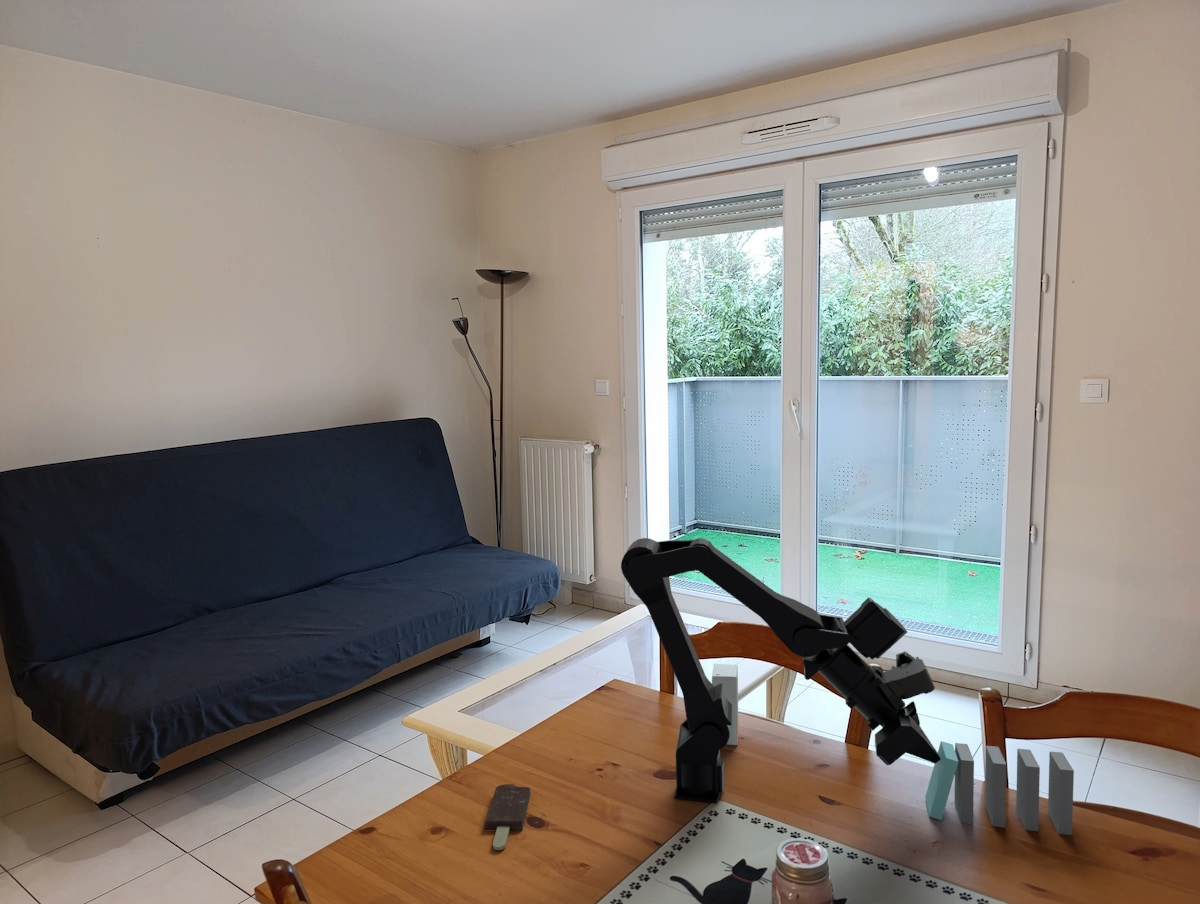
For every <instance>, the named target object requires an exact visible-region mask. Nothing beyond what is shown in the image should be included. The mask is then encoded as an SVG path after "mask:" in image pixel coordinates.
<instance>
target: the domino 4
mask: <svg viewBox="0 0 1200 904" xmlns="http://www.w3.org/2000/svg"><path fill="white" fill-rule="evenodd" d="M1048 755H1049V757H1048V759H1049V761H1048V764H1049V765H1048V793H1047V795H1048V797H1047V798H1048V800H1049V801H1047V814H1048V817H1049V818H1050V820H1051V822H1052V824H1053V826H1054V828H1055V830H1056V832H1057V834H1058V835H1066V836H1073V816H1074V815H1073V814H1074V813H1073V812H1074V810H1073V809H1074V779H1075V778H1074V777H1075V776H1074V775H1075V774H1074V773H1075V769H1074V768H1073V767H1072V765H1071V764H1070V762H1069V761H1068V759H1067V757H1066V755H1065V754H1064V753H1063V752H1062V751H1060V752H1059V751H1049V754H1048Z"/></svg>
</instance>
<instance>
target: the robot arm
mask: <svg viewBox="0 0 1200 904" xmlns="http://www.w3.org/2000/svg"><path fill="white" fill-rule="evenodd" d="M620 569H621V574H622V575H623V577H624V579H625V580H626V582H627V583H628V585H629V587H630V588H631V590H632V591H633V593H634V594H635V595H636V597H637V598H639V600H640V601H641V602H642V603H643V604H644V606H645V607H646V609H647V610H648V613H649V614H650V618H651V620H652V623H653V625H654V627H655V630H656V632H657V634H658V637H659V639H660V642H661V644H662V646H663V649H664V651H665V652H664V653H666V654H665V655H666V656H667V658H668V661H669V664H670V666H671V669H672V670H673V673H674V676H675V678H676V680H677V683H678V685H679V688H680V690H681V692H682V697H683V698H682V699H683V703H684V710H685V711H684V712H685V718H686V719H684V721H683V722H682V723H681V724H680V725H679V730H678V738H677V743H676V749H675V776H676V777H675V779H676V780H675V781H676V785H675V790H674V792H673V797H674V799H679V800H680V799H682V800H689V801H697V802H705V803H714V804H715V803H718V802H719V798H720V794H722V793H723V791H724V787H725V761H724V760H725V759H723V758H721V750H722V749H723V748H724V747H725V746H727V745H726V744H727V742H728V740H729V737H730V725H732V704H731V703H730V702H729V701H728V699H727V698H726V695H725V691H724V687H723V684H722V683H720V684H719V685H717V686H715V687H714V686H713V685H712V681H710V680H709V678H708V677H707V676H706V673H705V671H704V668H703V666H702V664H701V661H700V659H699V656H698V654H697V651H696V648H695V646H694V643H693V642H692V639H691V638H690V635H689V632H688V629H687V627H686V625H685V623H684V620H683V618H682V615H681V613H680V611H679V608H678V606H677V603H676V600H675V599H674V596H673V594H672V588H671V582H670V577H672V576H677V575H681V574H685V573H689V572H695V571H698V572H700V573H701V574H702V575H703V576H705V577H706V578H708V579H709V580H710V581H712V582H713V583H714V584H715V585H717V586H718V587H720V588H721V589H722V590H723V591H725V592H726V593H727V594H729V595H731V596H732V597H733V598H734V599H736V600H737V601H738V602H740V603H741V604H743V605H744V606H745V607H746V608H747V609H749V610H751V611H752V612H753V613H755V614H756V615H758V616H759V617H760V618H761V620H763V622H765V623H766V624H767V626H768V627H769V628H770V630H771V631H772V632H773V633H774V635H775V636H776V637H777V638H778V639H779V641H781V642H782V644H784V646H786V648H788V650H789V651H790V652H791V653H793V654H794V655H795V656H798V657H800V658H802V664H803V666H804V667H803V673H804V679H805V680H806V681H809V680H811V679H812V678H813V677H814V676H815V675H816V674H817V673H819V674H820V675H821V676H822V677H823V678H824V679H825V680H826V681H827V682H828V683H829V684H830V685H831V686H833V688H834V689H835V690H836V691H837V692H839V694H840V695H841V696H843V697H844V698H845V699H844V700H845V705H846V706H847V707H848V708H849V709H850V710H852V709H853V708H855V709H856V710H857V711H858V712H859V713H860V714H861V715H862V716H863V717H864V718H865V719H866V724H867V726H868V728H869V729H871V730H872V731H874V730H875V729H878V727H879V726H880V727H881V729H879V730H878V731H877V732H876V733H875V734H874V747H875V748H874V749H875V755H876V756H877V757H878V758H879V759H880V761H882V762H883V763H884V764H885V765H886V766H891V765H892V764H893V763H895V762H896V761H898V759H900V758H901V757H902V756H903V755H905V754H909V755H912V756H914V757H916V758H920V759H922V760H924V761H928V762H930V763H933V764H935V763H937V762H938V761H940V756H939V754H938V750H936V747H934V745H933V744H932V742H931V740H930V739H929V737H928V736H927V735H926V733H925V732H924V730H923V729H922V727H921V721H920V717H919V715H918V713H917V711H918V710H917V707H916V706H917V705H916V703H915V701H911V702H909V703H908V704H907V705H906V702H905V701H904V700H909V699H912V698H914V697H916V696H920V695H923V694H929V693H932V692H933V691H935V689H936V687H935V684H934V682H933V679H932V676H931V675H930V673H929V671H928V669H927V667H926V664H925V663H924V660H923V659H921V658H920V657H918V656H916V657H914V656H913V655H911V654H910V653H908V652H907V651H902V652H900V653H897V654H896V655H895V665H893V666H892V665H891V669H888V670H887V671H883V670H882V669H881V668H880V667H879V666H875V665H872V666H870V665H869V664H868V663H867V662H866V661H865V660H864V659H863V658H862V657H861V656H863V657H864V658H866V659H868V658H869V659H871V661H872V660H874V659H875V658H876V659H879V658H881V657H882V656H883V655H884V654H885V653H887V651H888V650H889V649H891V648H892V647H893V646H894V645H896V644H897V643H898V641H899V640H901V639H902V638H903V637H904V636H905V635H906V634H908V630H907V629H906V628H905V626H904V625H903V624H902V623H901V622H900V621H899V620H898V619H897V618H896V617H895V616H894V615H893V614H892V613H891V612H890V611H889V610H888V609H887V608H886V607H883V606H882V605H881V604H879V603H877V602H876V601H875V600H874V599H872V597H867V598H866V599H865V600H864V601H863V602H862V603H861V604H860V607H859V608H857V609H856V610H855V611H854V612H853V613H852V614H851V615H850V616H849V617H848V618H847V619H846V620H844V619H843V617H842V616H835V615H827V614H823V613H821V614H820V613H819V612H817V611H816V609H814V608H812V607H810V606H809V605H806V604H804V603H802V602H800V601H798V600H796V599H794V598H791V597H788V596H786V595H782V594H780V593H779V592H776V591H774V590H773V589H772V588H770V587H769V586H768V585H766V584H765V582H762V580H760V579H758V578H757V577H756V576H754V575H753V574H752V573H750V572H749V571H747V570H746V569H745V568H744V567H742V566H741V565H739V564H738V563H737V562H735V561H734V560H732V559H731V558H730V557H728V556H727V555H726V554H725V553H723V552H722V551H720V550H719V549H718V548H717V547H715V546H714V544H713V543H712V542H711V541H710V540H708V539H706V538H700V537H699V538H695V539H687V540H686V539H685V540H682V539H681V540H676V539H675V540H670V539H669V540H662V541H661V540H660V541H657V540H653V539H652V538H647V537H646V538H645V537H642V538H638V539H636V540H635V541H633V542H632V543H631V544H630V545H629V547H628V548H627V550H626V551H625V553H624V555H623V556H622V560H621V562H620ZM849 643H850V645H851V646H852V647H853V648H854V649H855V650H856V651H857V652H858V653H856V651H855V650H854V649H853V648H852V647H851V646H849ZM859 654H860V655H861V656H860V655H859Z"/></svg>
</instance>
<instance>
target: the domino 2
mask: <svg viewBox="0 0 1200 904" xmlns="http://www.w3.org/2000/svg"><path fill="white" fill-rule="evenodd" d="M984 774H985V779H984V780H985V781H984V782H985V787H984V789H985V790H984V806H985V807H984V808H985V810H986V813H987V815H988V817H989V818H988V819H989V821H990V824H991V825H992V826H991V827H996V828H997V827H999V828H1006V818H1007V817H1006V814H1007V813H1006V811H1007V810H1006V809H1007V806H1006V803H1007V801H1006V799H1007V762H1006V760H1005V758H1004V756H1003V754H1002V752H1001V749H1000V747H999V746H994V745H993V746H992V745H985V773H984Z"/></svg>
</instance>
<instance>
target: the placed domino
mask: <svg viewBox="0 0 1200 904" xmlns="http://www.w3.org/2000/svg"><path fill="white" fill-rule="evenodd" d="M937 753H938V754H939V756H940V761H938V762H937V763H933V764H934V765H933V769H932V772H931V776H930V779H929V783H928V786H927V789H926V793H925V795H924V796H925V797H924V798H925V803H926V808H927V811H928V816H929V817H930V818H933V819H936V820H939V821H942V820H943V818H944V812H945V810H946V805H947V803H948V799H949V797H950V793H951V789H952V786H953V783H954V780H955V772H956V768H957V765H958V759H957V756H956V753H955V746H954V744H952V743H949V742H945V741H942V740H941V741H940V744H939V747H938V750H937Z"/></svg>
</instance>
